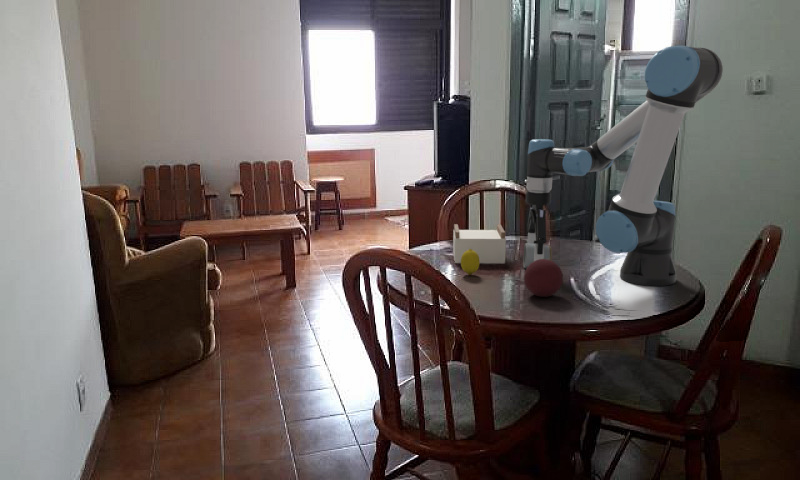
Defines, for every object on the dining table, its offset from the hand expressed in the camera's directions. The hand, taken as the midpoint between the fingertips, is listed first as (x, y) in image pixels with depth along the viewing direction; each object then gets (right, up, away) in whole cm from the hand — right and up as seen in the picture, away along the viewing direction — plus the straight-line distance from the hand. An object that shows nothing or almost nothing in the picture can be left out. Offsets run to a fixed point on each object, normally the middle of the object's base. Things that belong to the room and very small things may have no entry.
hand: (534, 258), depth 196 cm
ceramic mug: (0, -3, +1) cm, 3 cm away
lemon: (-21, -5, -8) cm, 23 cm away
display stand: (-16, 0, +12) cm, 20 cm away
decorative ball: (-4, -9, -29) cm, 31 cm away
